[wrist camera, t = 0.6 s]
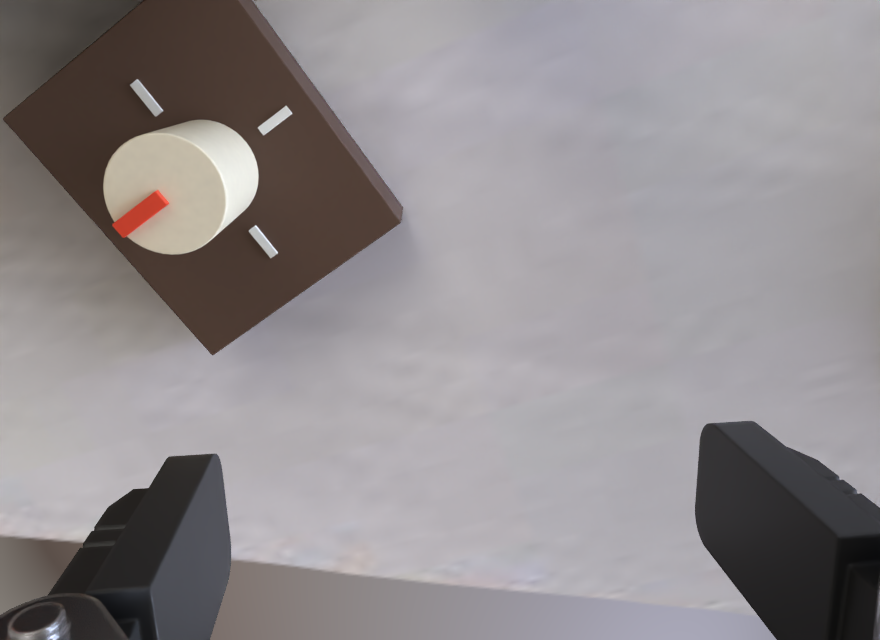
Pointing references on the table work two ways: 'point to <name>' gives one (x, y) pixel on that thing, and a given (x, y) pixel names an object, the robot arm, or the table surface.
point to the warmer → (243, 110)
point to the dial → (179, 185)
